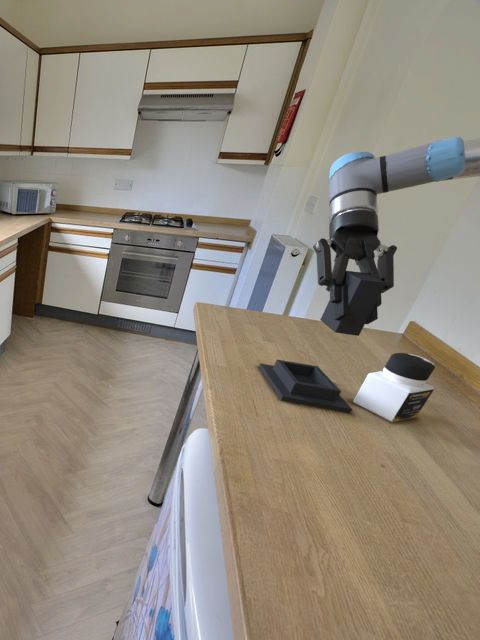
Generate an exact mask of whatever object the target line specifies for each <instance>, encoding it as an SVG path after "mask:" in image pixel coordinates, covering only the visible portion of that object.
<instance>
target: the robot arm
mask: <svg viewBox="0 0 480 640" xmlns="http://www.w3.org/2000/svg"><path fill="white" fill-rule="evenodd" d="M477 177H478V178H479V177H480V138H474V139H473V138H472V139H467V140H464V139H463V138H462V137H460V136H453V137H449V138H445V139H439V140H438V139H437V140H435V141H432V142H429V143H427V144H426V143H425V144H422V145H418V146H414V147H411V148H407V149H404V150H400V151H397V152H393V153H390V154H387V155H381V156H377V157H375V155H374V154H373V153H372V152H370V151H364V150H363V151H360V152H359V151H353V152H348V153H346V154H344V155H342V156H340V157H339V158H338V159H336V160H335V161H334V162H333V163H332V165H331V166H330V168H329V178H328V181H327V182H328V206H329V207H328V208H329V209H328V210H329V211H328V213H329V214H328V216H329V217H328V219H329V224H328V225H329V226H328V234H329V235H328V237H329V238H328V239H326V238H322V237H321V238H320V239H319V240H318V241H317V242H316V243H315V244H314V245H313V246H312V248H313V251H314V252H315V254H316V268H317V269H316V272H317V284H318V285H319V286H321V287H323V286H325V290H326V291H327V292H329V300H330V302H331V303H334V306H335V320H341V319H342V318H344V317H346V316H347V315H348V285H342V286H341V284H342V283H343V280H344V276H345V272H346V271H347V268H348V265H349V261H350V260H353V261H354V262H355V265H356V266H358V269H359V272H362V273H368V274H370V275H372V276H374V277H376V278H378V279H380V280H382V281H384V282H386V285H385V287H384V289H383V291H382V293H381V294H380V296H379V298H378V300H377V302H376V304H375V306H374V308H373V310H372V312H371V314H370V315H369V317H368V319H367V321H366V323H365V325H369V324H371V323H374V322H375V321H377V320H378V319H379V317H378V315H379V314H378V308H379V307H380V306H381V305H382V302H383V301H382V294H385V293H386V292H388V291H389V290H391V289H392V288H394V286H395V273H394V272H395V271H394V270H395V268H394V266H395V265H394V262H395V261H394V260H395V259H394V255H395V254H396V252H397V250H398V247H397V246H396V245H393V244H391V245H390V246H387V245H385V244H382V243H381V240H380V238H379V237H378V235H379V228H380V227H379V225H380V224H379V216H378V215H379V205H378V195H380V194H386V193H388V192H393V191H398V190H403V189H407V188H412V187H417V186H421V185H426V184H430V183H434V182H436V183H439V182H443V181H450V180H459V179H467V178H477ZM331 250H332V251H333V252H334V253H335V256H334V259H333V262H334V264H333V266H332V253H331V252H332V251H331ZM375 251H376V253H377V254H376V255H375ZM375 258H377V263H376V261H375ZM332 267H333V268H332Z"/></svg>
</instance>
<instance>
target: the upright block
mask: <svg viewBox="0 0 480 640" xmlns="http://www.w3.org/2000/svg"><path fill="white" fill-rule="evenodd" d="M342 285H348V315H347V316H346V317H344V318H342V319H341V320H335V306H334V303H331V302H330V299H329V300H328V302H327V303H326V307H325V308H324V311H323V313H322V316H321V318H320V321H321V322H322V323H323V324H325V325H326V326H327V328H329V329H330V330H331V331H332V332H334V333H336V334H342V335H350V336H356V337H357V336H358V337H360V335H361V333H362V331H363V329H364V327H365V325H366V324H365V323H366V321H367V319H368V317H369V315H370V314H371V312H372V310H373V308H374V306H375V304H376V302H377V300H378V298H379V296H380V294H381V295H382V294H383V293H382V291H383V289H384V287H385V285H386V282H384V281H382V280H380V279H378V278H376V277H374V276H372V275H370V274H368V273H362V272H360V271H354V270H353V271H352V270H346V272H345V276H344V280H343V283H342V284H341V286H342Z"/></svg>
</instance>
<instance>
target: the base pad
mask: <svg viewBox="0 0 480 640" xmlns="http://www.w3.org/2000/svg"><path fill="white" fill-rule="evenodd" d="M258 368H259V370H260V371H261V373H262V374H263V375H264V377H265V379H266V380H267V382H268V383H269V385H270V386H271V388H272V389H273V391H274V392H275V394H276V396H277V397H278V398H279V400H280V401H282V402H287V403H293V404H297V405H304V406H309V407H313V408H314V407H315V408H321V409H325V410H331V411H336V412H342V413H347V414H351V413H352V411H353V408H352V407H351V406H350V405H349V404H348V403H347V401H346V400H345V399H344V398H342V396H341V392H342V391H341V389H340V388H339V387H338V386H337V385H336V384H335V383H334V382H333V381H332V380H331V379H330V377H329V376H327V374H325V372H324V371H323V370H322V369H321V368H320V367H319V366H318V365H312V364H308V363H307V364H306V363H301V362H295V361H289V360H282V359H275V363H274V365H272V364H267V363H259V365H258Z"/></svg>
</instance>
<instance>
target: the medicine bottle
mask: <svg viewBox="0 0 480 640" xmlns="http://www.w3.org/2000/svg"><path fill="white" fill-rule="evenodd" d="M435 369H436V366H435V364H434V363H433V362H432V361H430V360H429V359H427V358H425V357H422V356H420V355H416V354H413V353H408V352H395V353H392V354H391V355H390V357H389V358H388V360H387V362H386V363H385V365H384V367H383V368H382V370H381V371H373V372H368V374H367V375H366V378H365V379H364V380H363V382H362V384H361V386H360V388H359V389H358V392H357V394H356V395H355V397H354V399H353V403H354V404H356V405H357V406H360V407H362V408H364V409H365V410H368V411H369V412H372V413H374V414H375V415H377V416H379V417H381V418H383V419H385V420H387V421H388V422H391V423H393V422H400V421H404V420H409V419H410V420H411V419H413V418H414V419H415V418H417V416H418V415H419V414H420V412H421V410H422V409H423V408H424V406H425V405H426V403H427V401H428V400H429V398H430V397H431V395H432V394H433V392H434V391H435V386H432V385H431V384H428V383H427V381H428V380H429V378H430V376H431V375H432V373H433V372H434V371H435Z"/></svg>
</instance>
